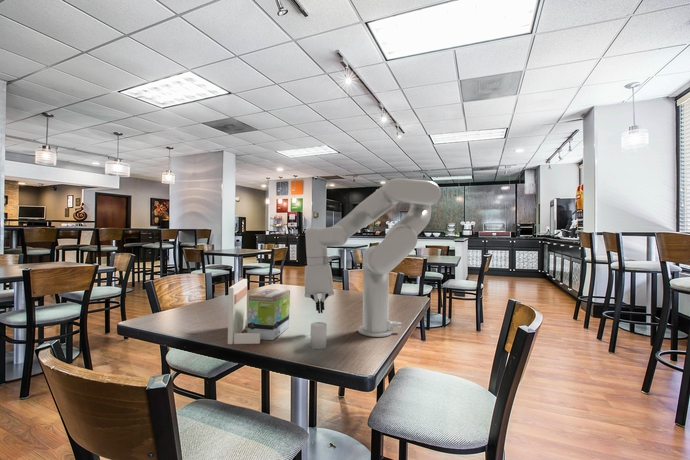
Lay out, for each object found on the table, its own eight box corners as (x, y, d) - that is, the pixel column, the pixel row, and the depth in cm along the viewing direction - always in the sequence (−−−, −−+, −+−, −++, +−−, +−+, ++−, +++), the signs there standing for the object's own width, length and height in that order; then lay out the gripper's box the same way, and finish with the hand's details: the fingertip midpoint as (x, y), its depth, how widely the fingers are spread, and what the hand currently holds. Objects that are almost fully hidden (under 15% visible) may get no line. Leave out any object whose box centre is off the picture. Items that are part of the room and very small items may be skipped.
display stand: (268, 325, 126) (269, 278, 126) (259, 343, 105) (260, 287, 105) (242, 325, 125) (243, 278, 125) (227, 344, 104) (228, 287, 104)
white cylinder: (326, 343, 106) (326, 322, 106) (326, 348, 101) (326, 326, 101) (310, 343, 105) (311, 322, 106) (310, 349, 100) (310, 326, 101)
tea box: (274, 340, 108) (275, 296, 108) (246, 338, 110) (247, 295, 110) (289, 328, 123) (290, 289, 123) (264, 326, 125) (265, 287, 125)
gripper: (337, 259, 122) (340, 308, 122) (297, 262, 120) (300, 311, 120) (338, 261, 114) (341, 313, 114) (296, 264, 113) (299, 316, 113)
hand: (320, 312), depth 117 cm, fingers closed
